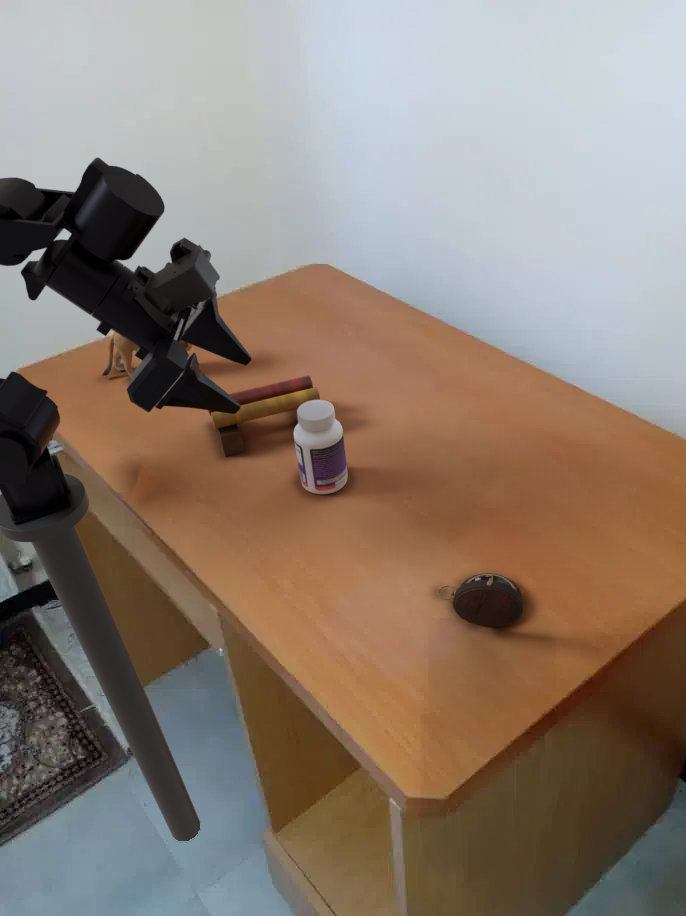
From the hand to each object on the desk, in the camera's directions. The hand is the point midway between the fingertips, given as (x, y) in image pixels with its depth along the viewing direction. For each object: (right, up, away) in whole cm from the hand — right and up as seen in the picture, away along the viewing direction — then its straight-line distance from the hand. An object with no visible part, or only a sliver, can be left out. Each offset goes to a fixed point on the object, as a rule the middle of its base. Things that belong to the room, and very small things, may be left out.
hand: (244, 385), depth 82 cm
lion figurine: (-17, +7, +28) cm, 34 cm away
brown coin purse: (+24, -23, -7) cm, 33 cm away
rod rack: (0, -3, +17) cm, 17 cm away
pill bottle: (+8, -10, +9) cm, 15 cm away
